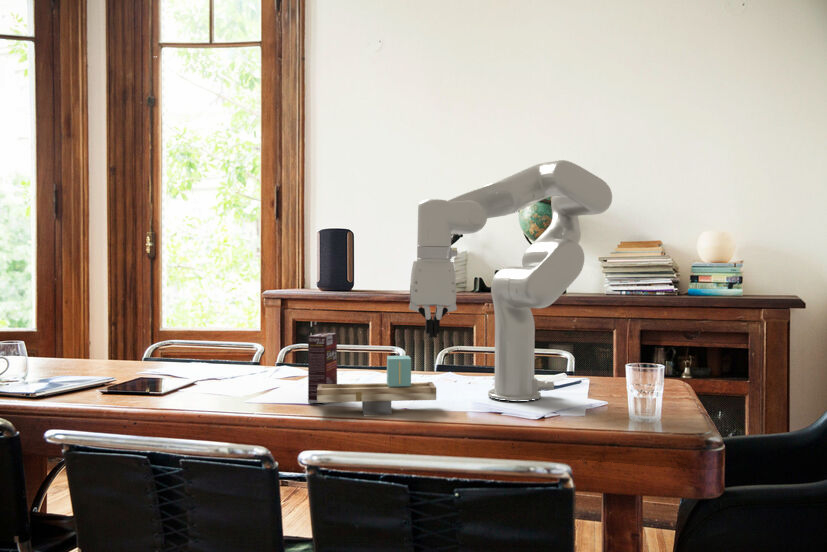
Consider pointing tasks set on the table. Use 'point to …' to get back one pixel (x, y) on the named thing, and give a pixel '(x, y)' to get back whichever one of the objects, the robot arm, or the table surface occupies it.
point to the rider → (398, 371)
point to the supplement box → (321, 362)
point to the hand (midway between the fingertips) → (432, 336)
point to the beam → (375, 395)
